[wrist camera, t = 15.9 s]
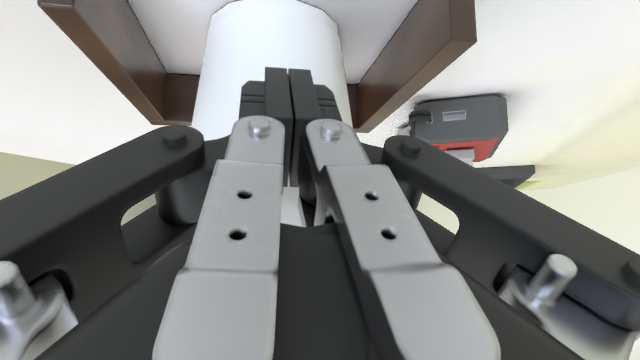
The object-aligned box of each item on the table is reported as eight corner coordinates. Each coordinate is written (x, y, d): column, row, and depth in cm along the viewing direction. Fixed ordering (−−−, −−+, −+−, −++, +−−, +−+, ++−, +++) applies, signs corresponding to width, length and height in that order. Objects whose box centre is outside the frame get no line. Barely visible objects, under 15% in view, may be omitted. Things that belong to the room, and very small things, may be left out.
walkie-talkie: (381, 99, 28) (406, 151, 47) (383, 158, 28) (407, 187, 47) (513, 85, 26) (483, 146, 45) (518, 150, 25) (486, 184, 44)
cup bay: (44, -89, 12) (36, 4, 11) (472, -37, 14) (477, 41, 14) (153, 78, 24) (151, 124, 24) (367, 90, 27) (368, 133, 26)
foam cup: (396, 51, 21) (405, 300, 19) (261, 84, 25) (257, 287, 24) (302, -64, 13) (302, 353, 11) (127, 15, 17) (107, 318, 15)
